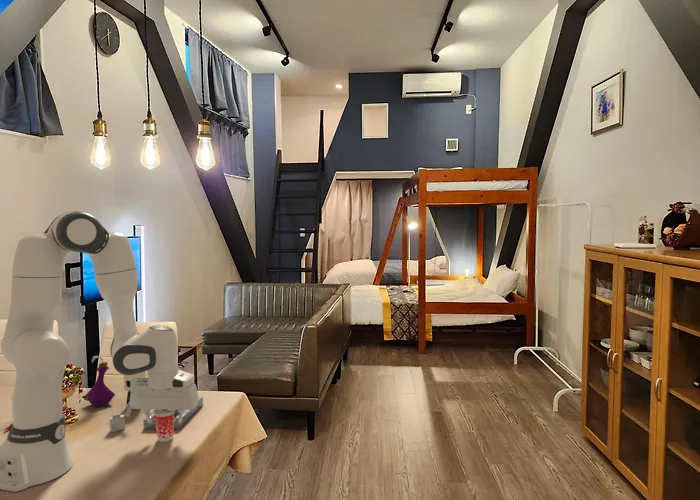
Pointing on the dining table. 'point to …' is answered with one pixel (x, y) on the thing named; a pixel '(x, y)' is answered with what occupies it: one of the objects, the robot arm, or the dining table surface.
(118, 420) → the lighter
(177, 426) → the gray divided tray
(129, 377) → the character mug
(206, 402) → the dining table surface
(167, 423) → the beverage cup
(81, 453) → the dining table surface
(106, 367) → the perfume bottle
